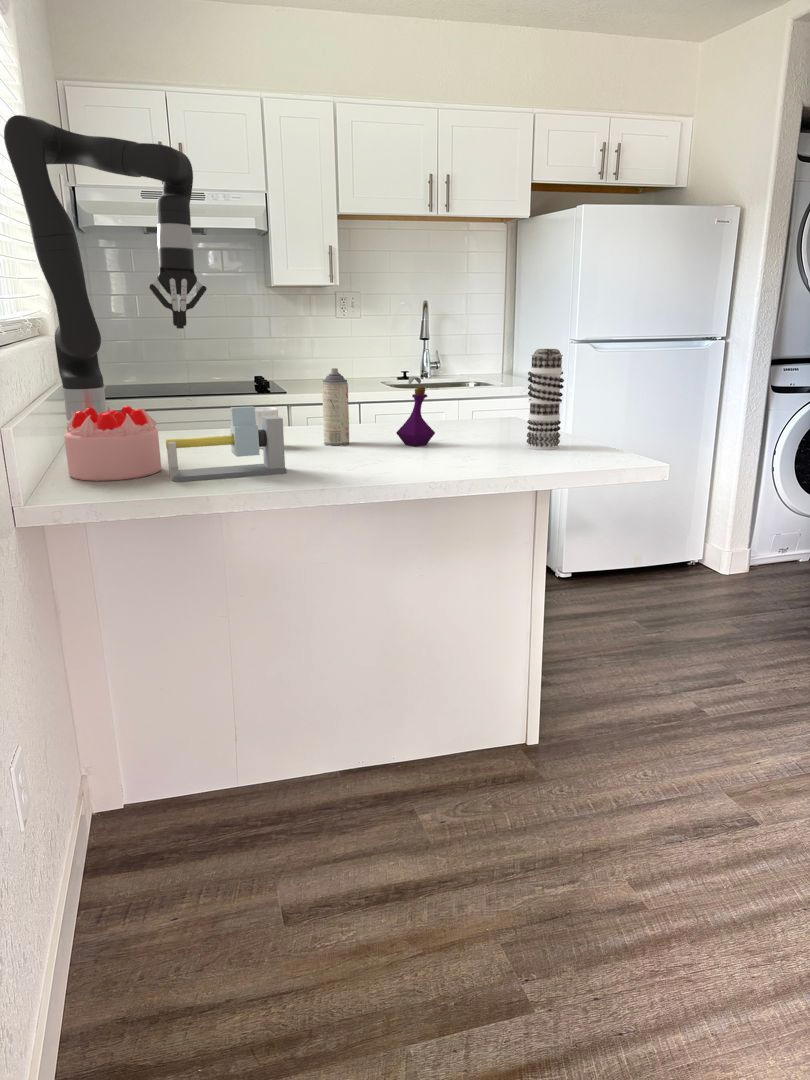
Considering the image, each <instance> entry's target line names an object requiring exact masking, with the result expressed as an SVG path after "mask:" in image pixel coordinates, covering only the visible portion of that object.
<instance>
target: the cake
mask: <svg viewBox="0 0 810 1080" xmlns="http://www.w3.org/2000/svg"><path fill="white" fill-rule="evenodd" d="M106 410H107V413H106V412H102V413H100V414H99V415H98V413H97V412H96V410H95V409H93V408H87V409H86V410H85V411H84V412H82V411H79V412H77V413H76V414H75V413H73V412H72V410H71V414H72V418H71V420H70V421H69V422H68V424H67V423H66V432H65V434H64V437H63V438H64V447H65V456H66V461H67V470H68V474H69V476H70V477H71V478H73V479H75V480H81V481H89V482H90V481H92V482H93V481H95V482H107V481H108V482H109V481H111V482H112V481H123V480H131V479H132V480H133V479H139V478H143V477H148V476H151V475H155V474H157V473H158V472H160V470H161V469H162V462H161V461H162V460H161V450H160V449H161V448H160V437H159V431H158V429H157V427H156V425H157V421H156V420H154V418H153V417H151V416H150V415H149V414H148V413H147V411H146V410H145V408H144V407H143V408H142V409H139V408H136V409H133V408H132V407H131V406H129V405H125V406H123V407H121V410H120V411H116V410H114V409H111V407H109V406H106Z"/></svg>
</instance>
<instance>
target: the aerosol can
mask: <svg viewBox="0 0 810 1080" xmlns="http://www.w3.org/2000/svg"><path fill="white" fill-rule="evenodd" d="M321 389H322V391H321V393H322V395H321V396H322V420H323V423H322V424H323V426H322V427H323V441H324V442H323V445H324V444H325V446H328V445H331V447H341V446H340V445H343V446H348V445H350V416H349V411H350V410H349V384H348V380H347V379H345V377H344V376H343V375H342V374H341V373H340V372H339V368H337V367H336V368H335V367H333V368H331V369H330V372H329V374H328V375H326V377H325V379H323V380H322V384H321Z"/></svg>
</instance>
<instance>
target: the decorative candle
mask: <svg viewBox="0 0 810 1080" xmlns="http://www.w3.org/2000/svg"><path fill="white" fill-rule="evenodd" d="M563 356H564V355H563V354H562V353H561V351H560V349H558V348H537V349H536V350H535V351H534V353H533V354H531V367H530V371H528V372H527V374H528V378H527V381H528V382H529V383H530V384H528V386H527V389H528V392H527V395H528V396H529V397H530V398H529V399H528V403H529V413H528V419H527V424H529V425H528V426H527V427H526V429H527V430H529V431H528V432H527V434H526V437H527V439H526V443H527V445H526V448H527V449H530V450H536V451H552V450H558V449H560V445H559V444H560V443H561V440H560V439H559V438H560V437H561V434H560V432H559V431H560V430H561V426H559V425H560V424H561V423H562V422H561V420H560V419H561V418H560V417H561V413H560V404H561V403H562V401H563V399H561V397H563V393H562V392H561V391H560V390H562V389H563V388H564V385H563V384H562V383H564V382H565V379H564V378H563V377H561V376H562V375H563V374H564V372H563V367H562V363H563Z"/></svg>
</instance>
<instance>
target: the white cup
mask: <svg viewBox="0 0 810 1080" xmlns="http://www.w3.org/2000/svg"><path fill="white" fill-rule="evenodd" d="M272 415H277V416H279V408H278V407H269V406H267V407H262V406H261V407H255V419H256V425H257V426H258V430H262V420H261V416H272ZM259 450H263V447H259Z"/></svg>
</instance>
